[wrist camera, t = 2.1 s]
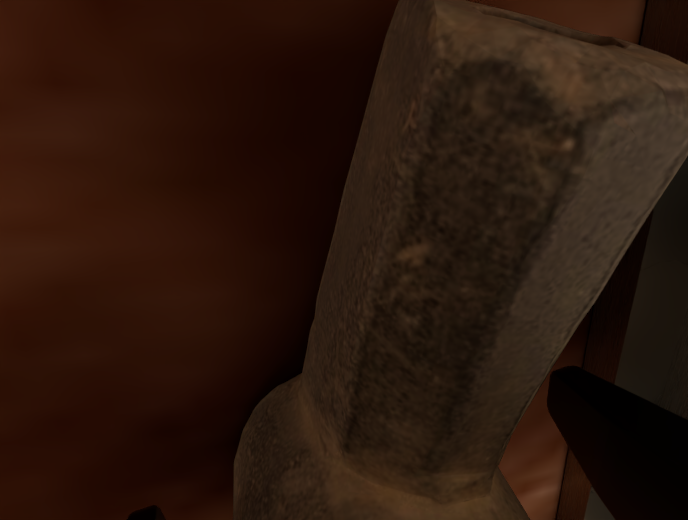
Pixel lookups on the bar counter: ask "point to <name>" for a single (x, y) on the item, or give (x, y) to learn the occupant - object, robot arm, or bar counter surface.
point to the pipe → (461, 261)
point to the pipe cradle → (643, 294)
